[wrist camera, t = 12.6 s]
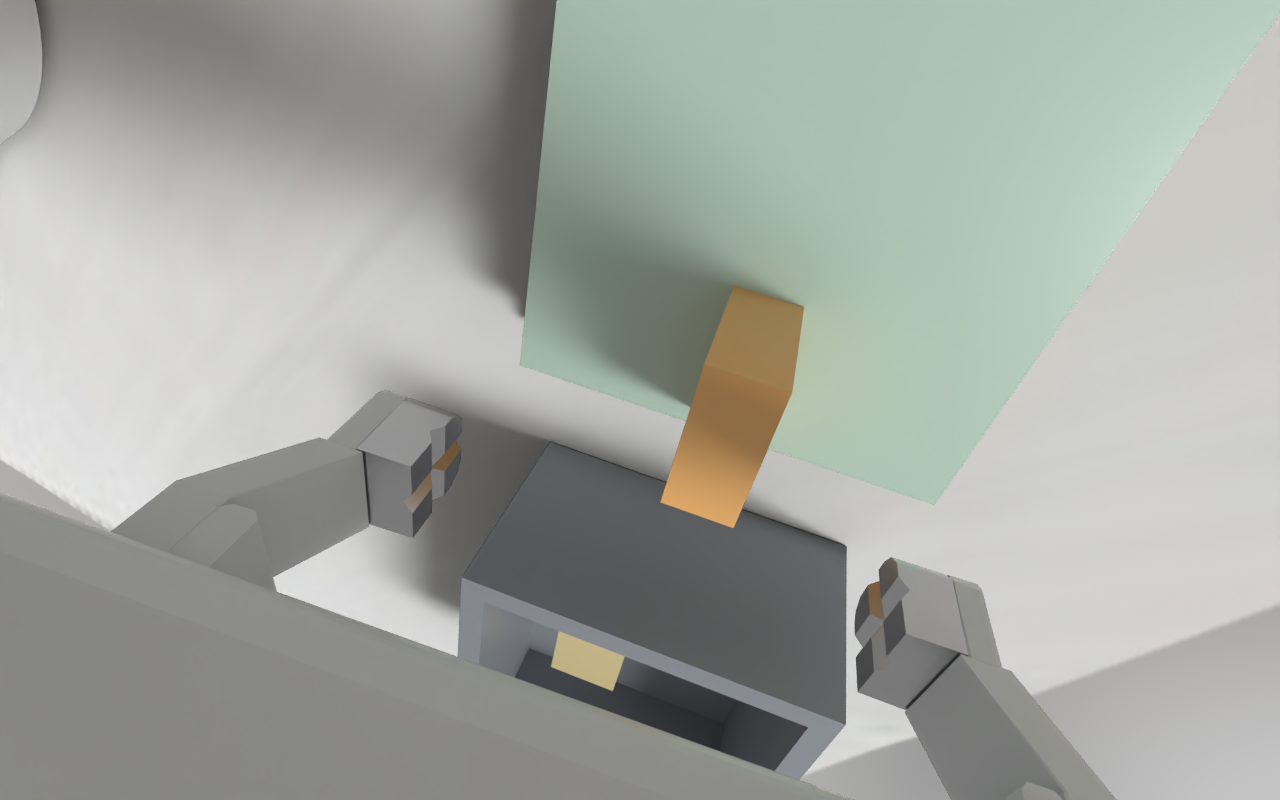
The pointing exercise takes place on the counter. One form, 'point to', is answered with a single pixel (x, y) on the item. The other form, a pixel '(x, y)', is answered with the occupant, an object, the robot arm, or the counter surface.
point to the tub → (663, 612)
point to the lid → (846, 211)
